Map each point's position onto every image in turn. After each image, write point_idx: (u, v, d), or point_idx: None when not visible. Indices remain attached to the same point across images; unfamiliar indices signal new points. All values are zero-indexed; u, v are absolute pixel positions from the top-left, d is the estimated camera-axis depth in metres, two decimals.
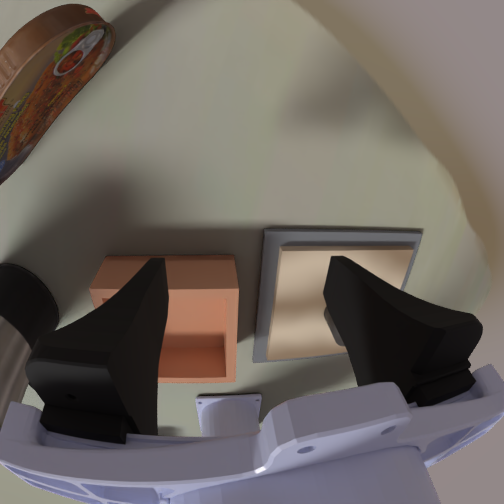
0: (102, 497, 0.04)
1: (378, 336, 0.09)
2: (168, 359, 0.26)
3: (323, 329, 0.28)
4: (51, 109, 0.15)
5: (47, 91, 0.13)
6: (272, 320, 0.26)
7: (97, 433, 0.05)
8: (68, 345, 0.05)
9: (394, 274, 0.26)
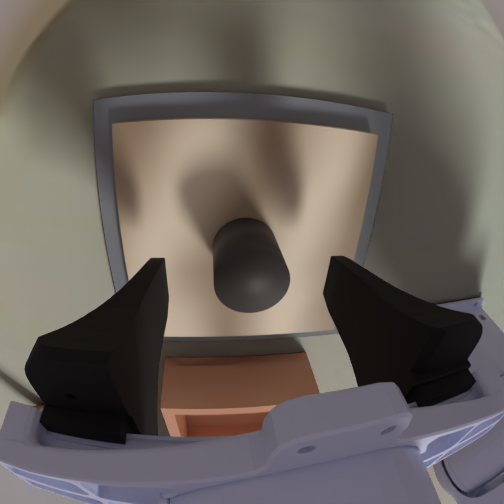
0: (102, 497, 0.04)
1: (377, 336, 0.09)
2: None
3: (288, 265, 0.16)
4: None
5: None
6: None
7: (98, 433, 0.05)
8: (68, 345, 0.05)
9: (166, 150, 0.12)
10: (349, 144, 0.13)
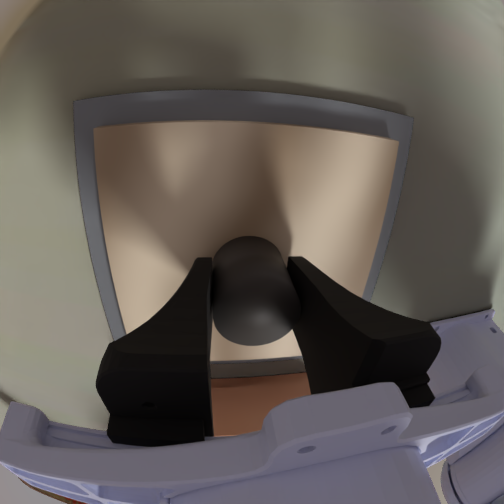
0: (102, 497, 0.04)
1: (325, 343, 0.09)
2: None
3: None
4: None
5: None
6: None
7: (178, 440, 0.05)
8: (153, 350, 0.06)
9: (156, 158, 0.11)
10: (367, 152, 0.11)
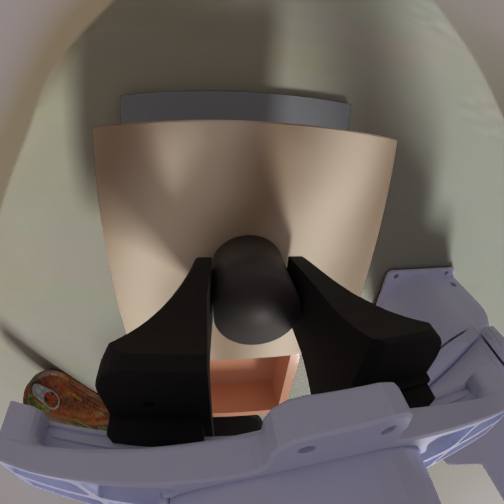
0: (102, 497, 0.04)
1: (325, 343, 0.09)
2: (278, 371, 0.27)
3: None
4: (85, 395, 0.29)
5: (69, 406, 0.26)
6: None
7: (178, 439, 0.05)
8: (153, 351, 0.06)
9: (155, 158, 0.11)
10: (366, 150, 0.11)
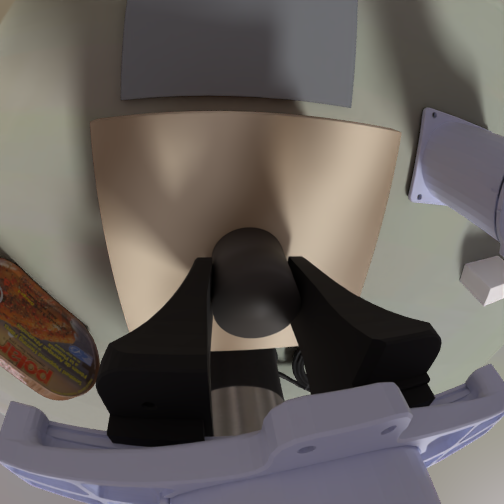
0: (102, 497, 0.04)
1: (325, 343, 0.09)
2: None
3: None
4: (40, 300, 0.22)
5: (14, 307, 0.19)
6: None
7: (178, 440, 0.05)
8: (153, 350, 0.06)
9: (154, 151, 0.10)
10: (369, 143, 0.11)
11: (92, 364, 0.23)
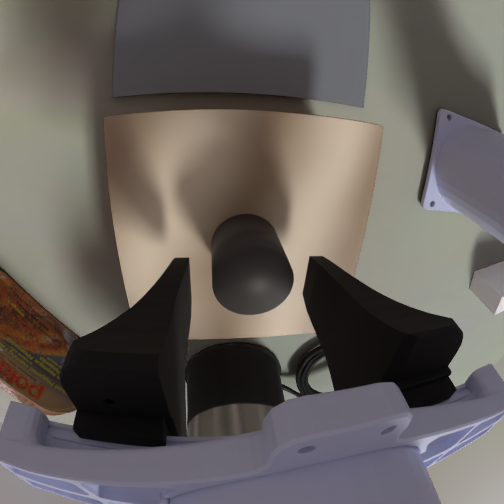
0: (102, 497, 0.04)
1: (351, 340, 0.09)
2: None
3: (290, 264, 0.15)
4: (31, 311, 0.20)
5: (3, 319, 0.17)
6: None
7: (138, 437, 0.05)
8: (110, 348, 0.05)
9: (161, 143, 0.12)
10: (353, 135, 0.12)
11: None
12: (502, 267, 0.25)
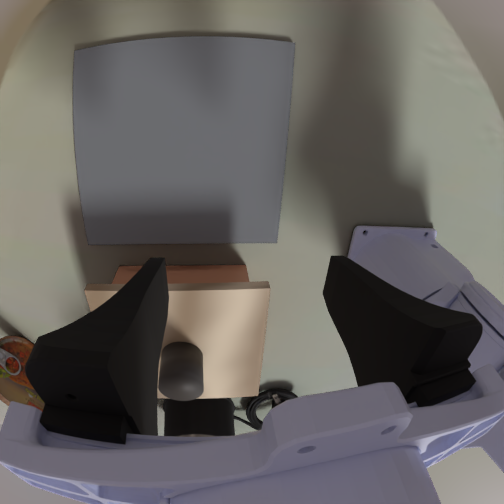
0: (102, 497, 0.04)
1: (378, 336, 0.09)
2: None
3: (213, 364, 0.23)
4: None
5: None
6: (200, 396, 0.25)
7: (98, 433, 0.05)
8: (68, 345, 0.05)
9: None
10: (246, 298, 0.20)
11: None
12: None
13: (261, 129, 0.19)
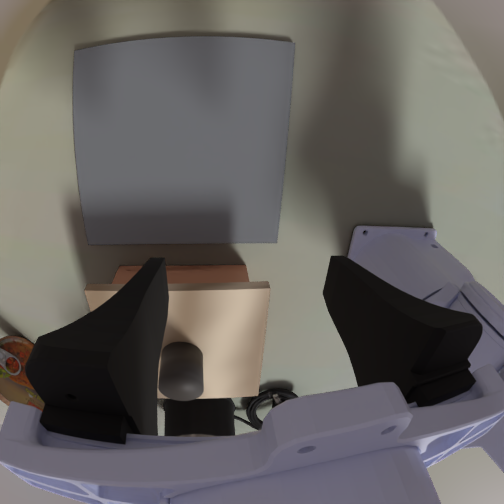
0: (102, 497, 0.04)
1: (378, 336, 0.09)
2: None
3: (213, 364, 0.23)
4: None
5: None
6: (200, 396, 0.25)
7: (97, 433, 0.05)
8: (68, 345, 0.05)
9: None
10: (246, 298, 0.20)
11: None
12: None
13: (261, 129, 0.19)
